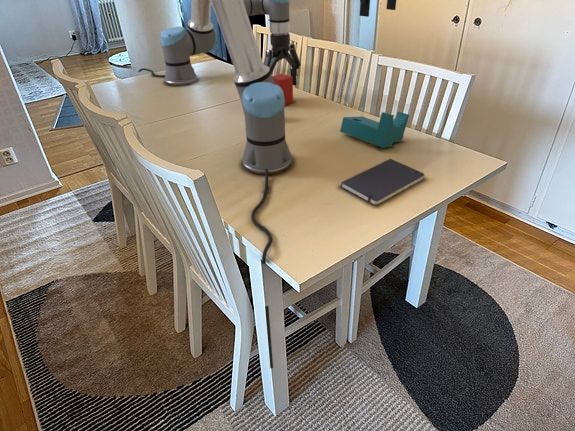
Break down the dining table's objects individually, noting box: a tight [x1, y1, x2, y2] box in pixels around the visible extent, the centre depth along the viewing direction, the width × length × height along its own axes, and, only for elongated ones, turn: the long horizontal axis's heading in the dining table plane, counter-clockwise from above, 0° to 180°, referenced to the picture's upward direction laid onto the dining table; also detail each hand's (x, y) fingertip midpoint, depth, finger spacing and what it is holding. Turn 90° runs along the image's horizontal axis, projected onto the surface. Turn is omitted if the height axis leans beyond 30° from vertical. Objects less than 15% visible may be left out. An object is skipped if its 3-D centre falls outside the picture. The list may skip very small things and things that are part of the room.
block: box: [272, 73, 294, 107], centre depth 166 cm, size 7×6×11 cm
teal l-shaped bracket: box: [339, 111, 410, 149], centre depth 136 cm, size 18×11×10 cm, turn 43°
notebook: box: [340, 158, 425, 206], centre depth 114 cm, size 13×2×21 cm
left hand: (282, 89), depth 166 cm, fingers open, 13 cm apart
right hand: (377, 12), depth 119 cm, fingers open, 13 cm apart
